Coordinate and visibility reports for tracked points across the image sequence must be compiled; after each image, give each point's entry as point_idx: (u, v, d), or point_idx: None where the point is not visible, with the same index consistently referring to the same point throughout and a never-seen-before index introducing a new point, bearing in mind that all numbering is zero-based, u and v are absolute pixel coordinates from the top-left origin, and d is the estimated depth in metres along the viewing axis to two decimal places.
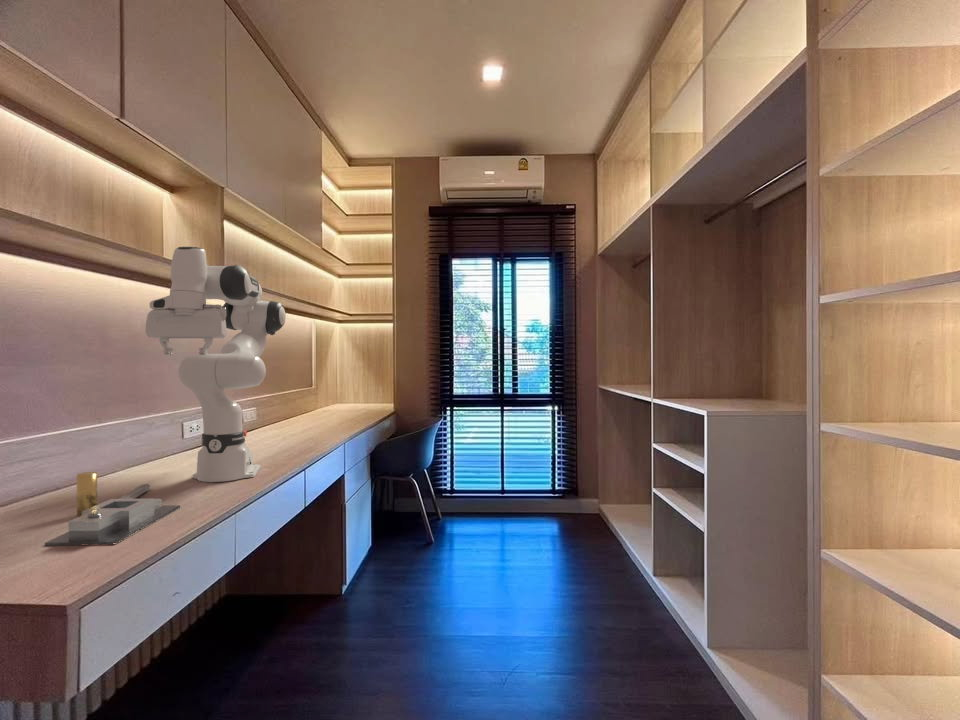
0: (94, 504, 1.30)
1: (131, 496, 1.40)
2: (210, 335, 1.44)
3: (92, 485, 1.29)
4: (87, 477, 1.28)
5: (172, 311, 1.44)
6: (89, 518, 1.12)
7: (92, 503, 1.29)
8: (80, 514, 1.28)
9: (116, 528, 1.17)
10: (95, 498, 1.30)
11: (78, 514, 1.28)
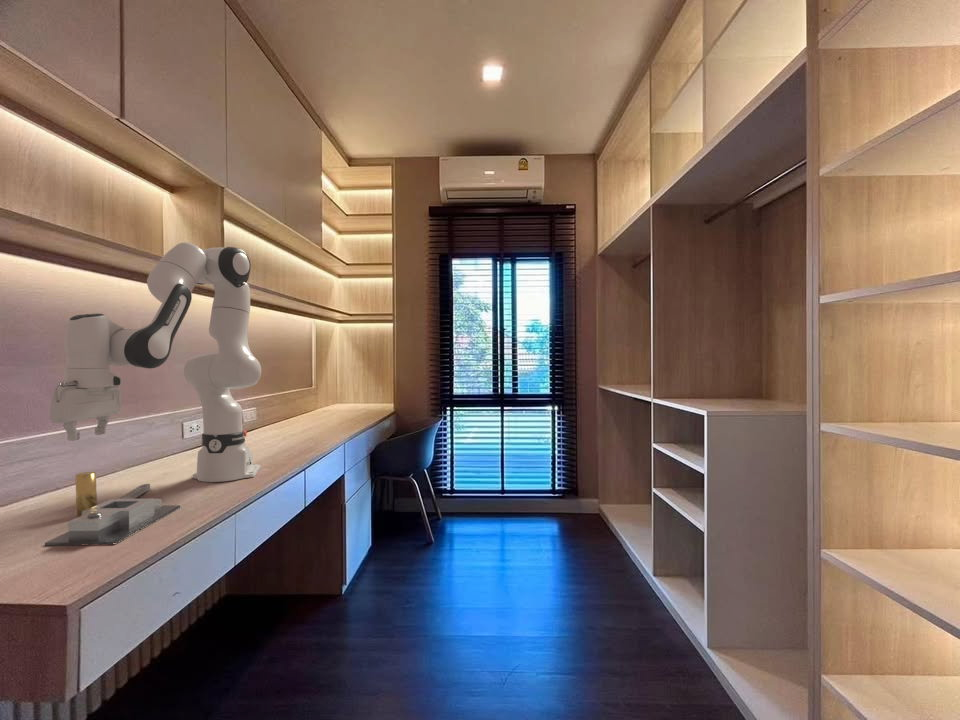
0: (94, 504, 1.30)
1: (131, 496, 1.40)
2: None
3: (91, 485, 1.29)
4: (86, 477, 1.28)
5: None
6: (89, 518, 1.12)
7: (92, 503, 1.29)
8: (80, 514, 1.28)
9: (116, 528, 1.17)
10: (95, 498, 1.30)
11: (78, 514, 1.28)
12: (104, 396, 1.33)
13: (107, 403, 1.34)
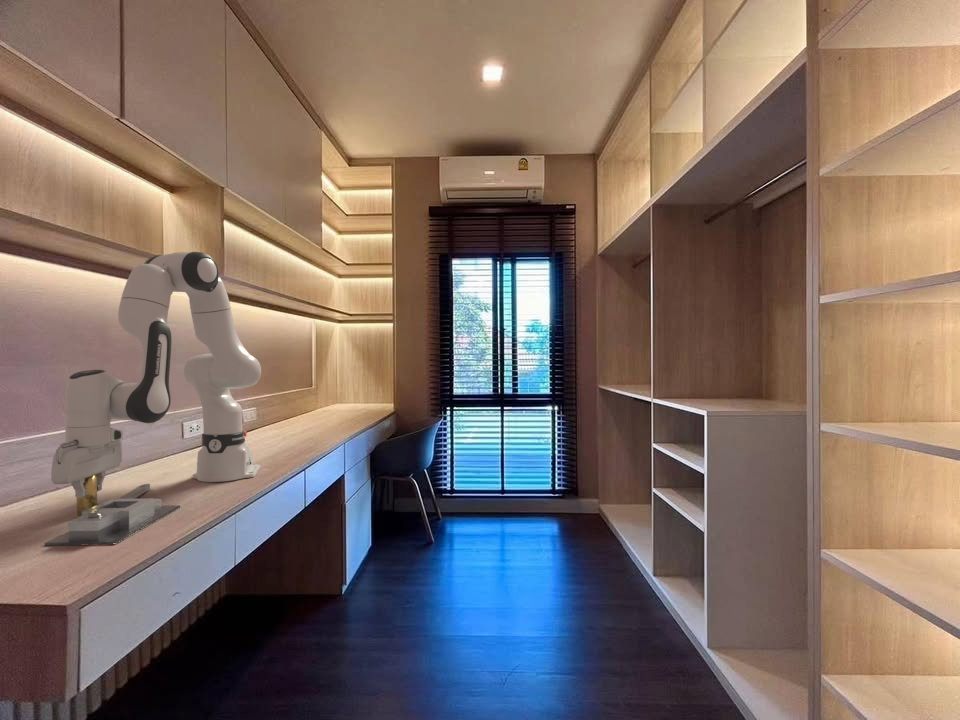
0: (94, 504, 1.30)
1: (131, 496, 1.40)
2: None
3: (92, 485, 1.29)
4: (87, 477, 1.28)
5: None
6: (89, 518, 1.12)
7: (92, 503, 1.29)
8: (80, 514, 1.28)
9: (116, 528, 1.17)
10: (95, 498, 1.30)
11: (78, 514, 1.28)
12: (105, 451, 1.34)
13: (108, 457, 1.35)
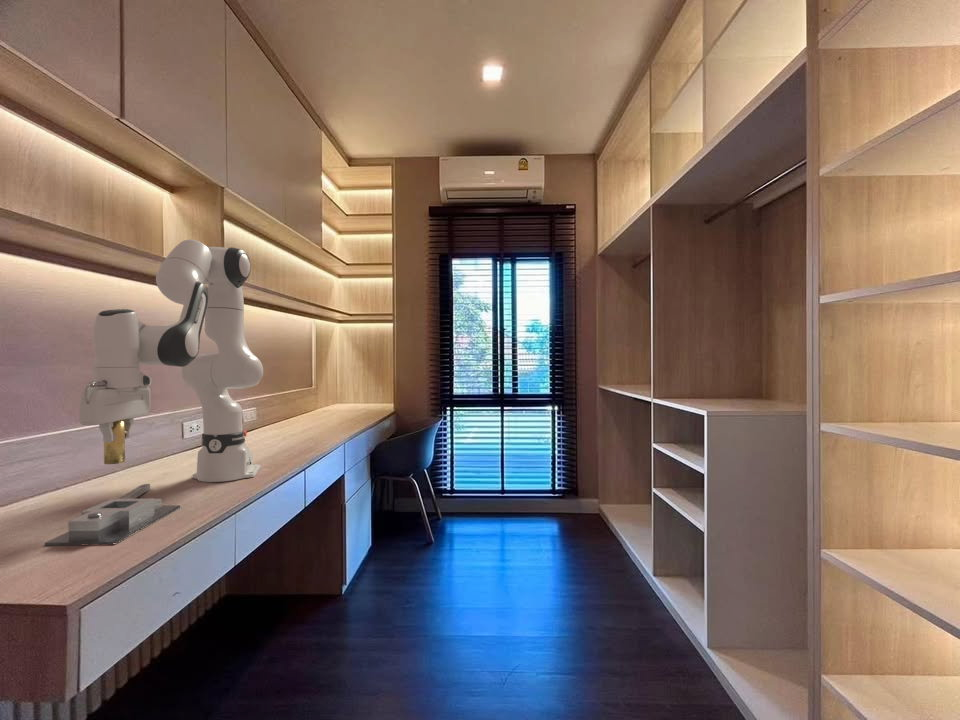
0: (122, 451, 1.22)
1: (131, 496, 1.40)
2: None
3: (120, 431, 1.22)
4: (115, 422, 1.21)
5: None
6: (89, 518, 1.12)
7: (120, 450, 1.22)
8: (108, 461, 1.20)
9: (116, 528, 1.17)
10: (123, 444, 1.23)
11: (106, 461, 1.20)
12: (134, 396, 1.26)
13: (137, 403, 1.27)
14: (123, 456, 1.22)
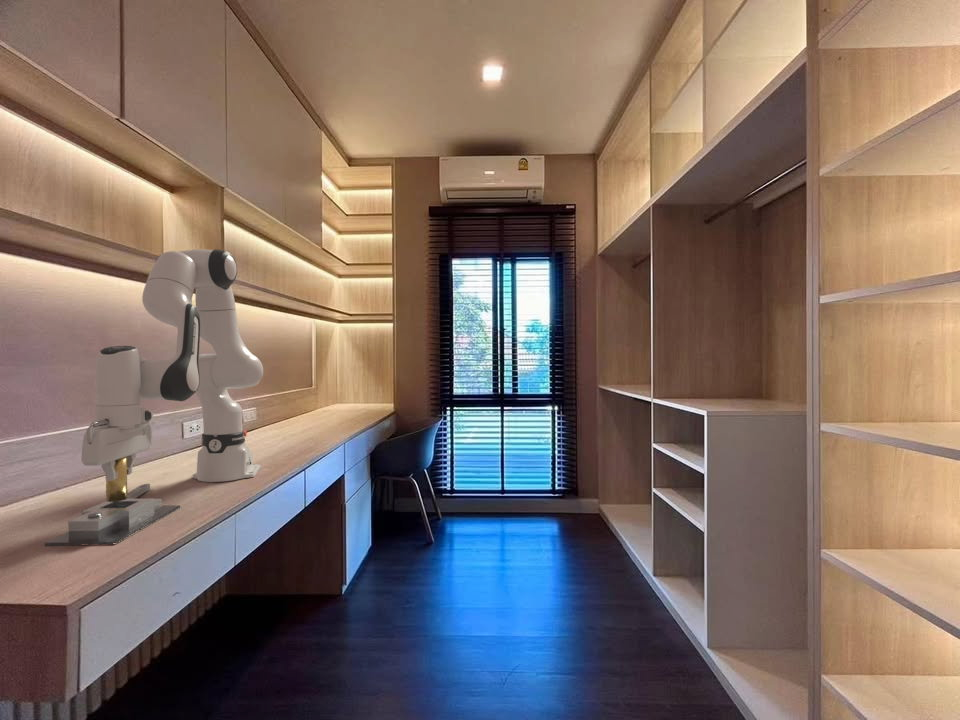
0: (124, 488, 1.22)
1: (131, 496, 1.40)
2: None
3: (122, 468, 1.22)
4: (117, 459, 1.21)
5: None
6: (89, 518, 1.12)
7: (122, 487, 1.22)
8: (110, 498, 1.21)
9: (116, 528, 1.17)
10: (126, 481, 1.23)
11: (108, 499, 1.21)
12: (135, 432, 1.26)
13: (139, 439, 1.27)
14: (125, 493, 1.23)
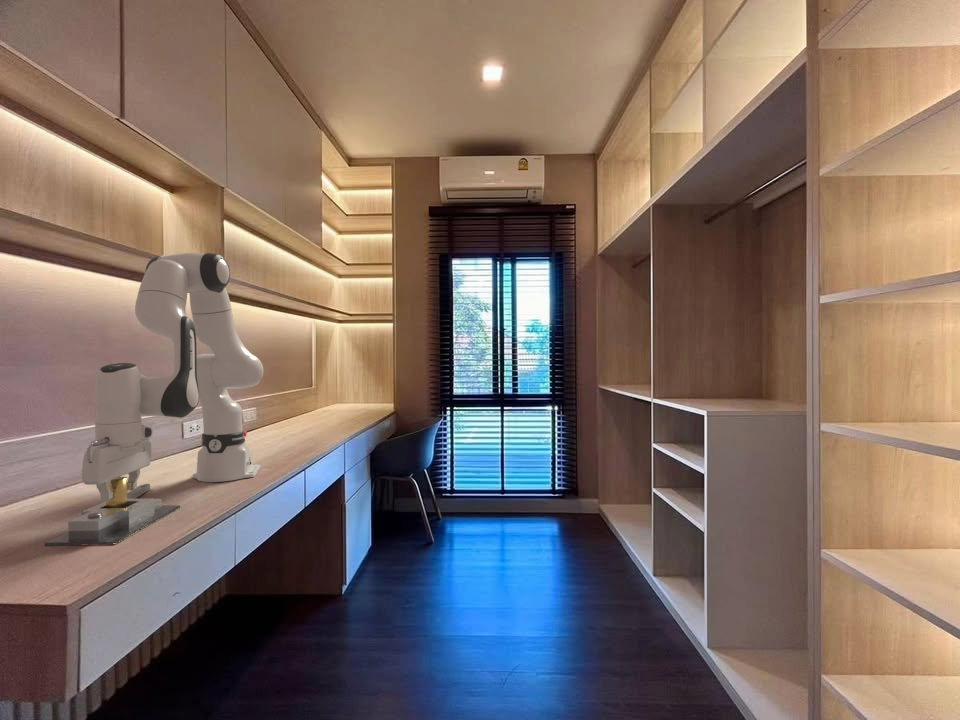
0: None
1: (131, 496, 1.40)
2: None
3: (123, 491, 1.22)
4: (118, 482, 1.21)
5: None
6: (89, 518, 1.12)
7: None
8: None
9: (116, 528, 1.17)
10: (126, 504, 1.23)
11: None
12: (135, 449, 1.26)
13: (139, 456, 1.27)
14: None
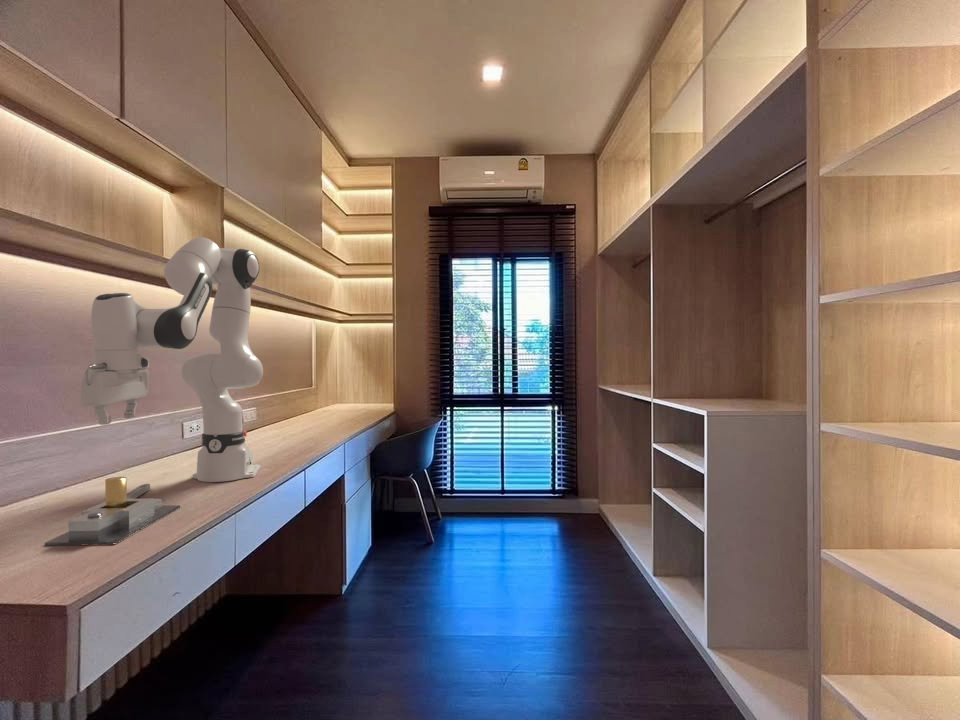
0: None
1: (131, 496, 1.40)
2: None
3: (122, 491, 1.22)
4: (117, 482, 1.21)
5: None
6: (89, 518, 1.12)
7: None
8: None
9: (116, 528, 1.17)
10: (125, 504, 1.23)
11: None
12: (132, 378, 1.29)
13: (136, 385, 1.30)
14: None
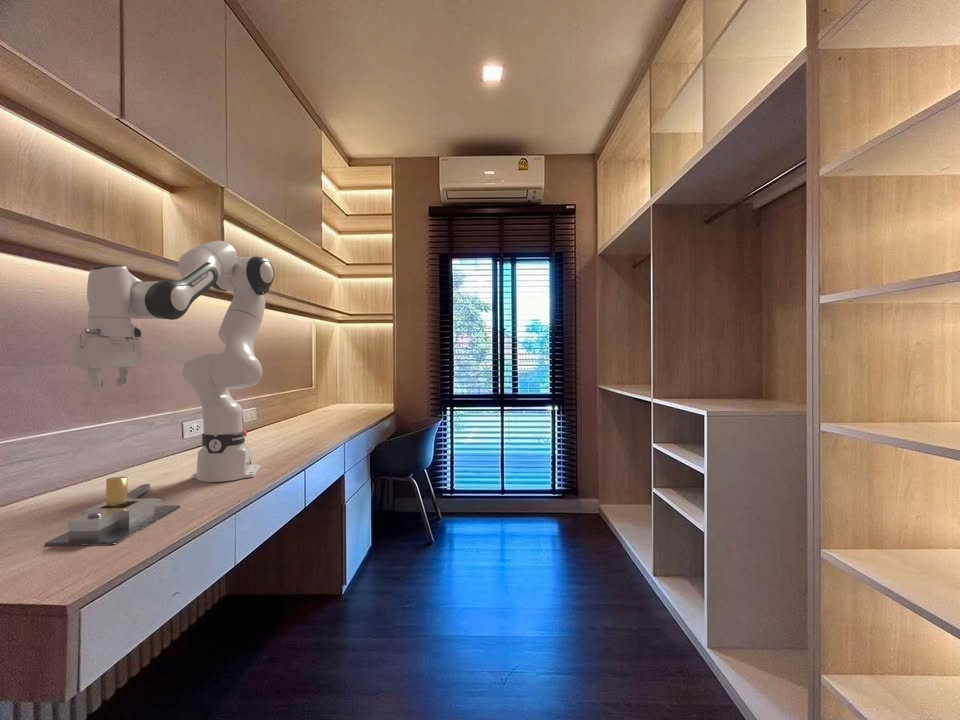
0: None
1: (131, 496, 1.40)
2: None
3: (123, 491, 1.22)
4: (118, 482, 1.21)
5: None
6: (89, 518, 1.12)
7: None
8: None
9: (116, 528, 1.17)
10: (126, 504, 1.23)
11: None
12: (125, 347, 1.35)
13: (129, 354, 1.36)
14: None
